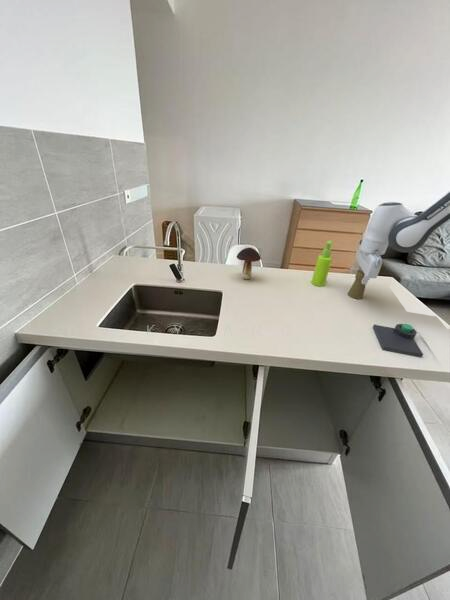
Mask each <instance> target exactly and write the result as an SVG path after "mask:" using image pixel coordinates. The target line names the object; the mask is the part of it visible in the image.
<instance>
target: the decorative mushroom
mask: <svg viewBox="0 0 450 600" xmlns="http://www.w3.org/2000/svg"><path fill="white" fill-rule="evenodd" d="M236 259H237V260H239V261H243V267H242V273H241V275H242V278H243V279H245V280H249V279H251V277H252V273H253V272H252V271H253V264H252V263H254V262H259V261H261V259H262V256H261V254H260V253H259V252H258V251H257V250H256V249H254V248H252V247H245V248H243V249H241V250H240V251H239V252H238V253H237V255H236Z"/></svg>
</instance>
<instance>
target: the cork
mask: <svg viewBox="0 0 450 600" xmlns="http://www.w3.org/2000/svg"><path fill="white" fill-rule="evenodd" d="M356 272H357V271H356ZM364 275H365V274H364V272H363V270H362V271H359V272H357V273H355V278H354V279H355V280H354V281H353V283H352V285H351V287H350V288H349V291H348V292H347V296H348V297H349V298H351V299H355V300H363V298H364V295H365V294H364V293H365V290H366V285H367V284H366V285H365V284H362V283H361V281H362V279H363V278H364Z"/></svg>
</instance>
